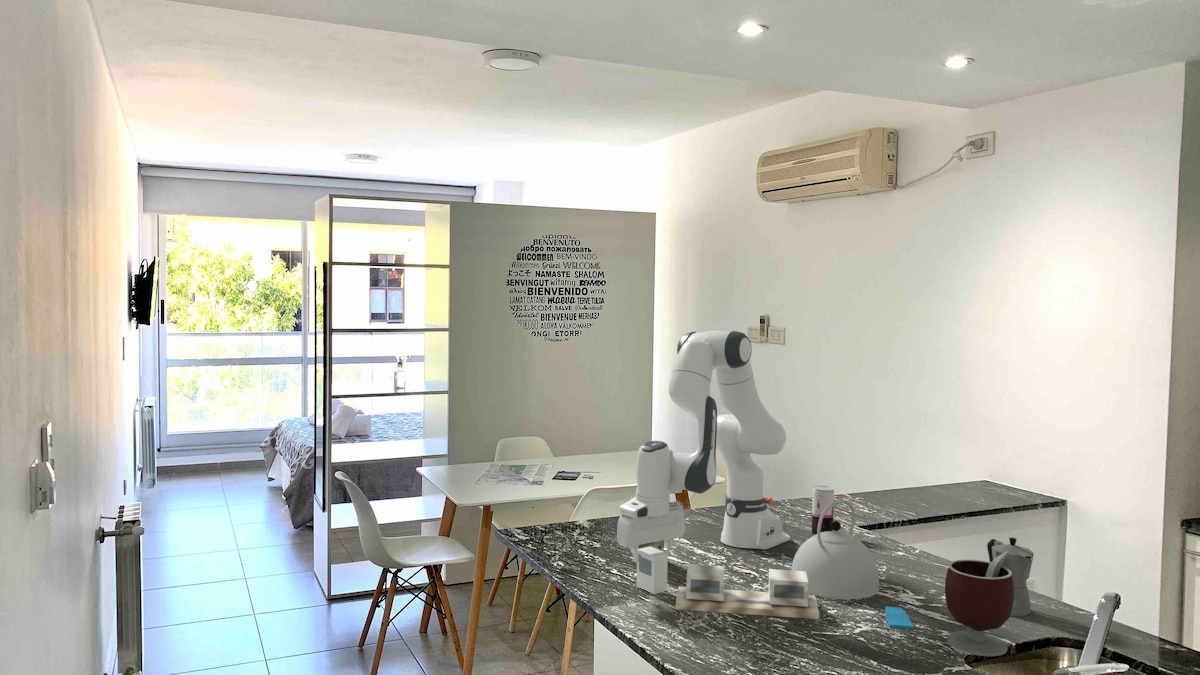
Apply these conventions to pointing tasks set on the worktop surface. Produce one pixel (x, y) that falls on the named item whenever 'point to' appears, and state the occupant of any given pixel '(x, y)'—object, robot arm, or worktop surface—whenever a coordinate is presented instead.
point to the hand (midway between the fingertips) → (651, 558)
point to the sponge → (898, 618)
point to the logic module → (652, 570)
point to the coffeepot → (1015, 571)
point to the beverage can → (822, 508)
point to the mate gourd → (979, 603)
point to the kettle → (837, 563)
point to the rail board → (747, 594)
